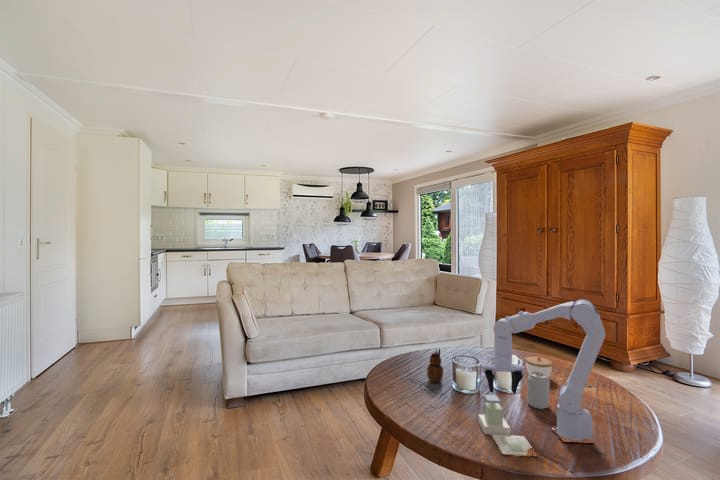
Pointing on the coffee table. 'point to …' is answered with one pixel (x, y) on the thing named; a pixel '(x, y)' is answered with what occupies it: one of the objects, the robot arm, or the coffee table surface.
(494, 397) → the slate block
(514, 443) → the tile
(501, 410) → the sage block
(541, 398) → the can
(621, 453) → the coffee table surface
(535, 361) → the lidded jar
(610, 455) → the coffee table surface
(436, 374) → the wooden figurine
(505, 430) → the white square slab
